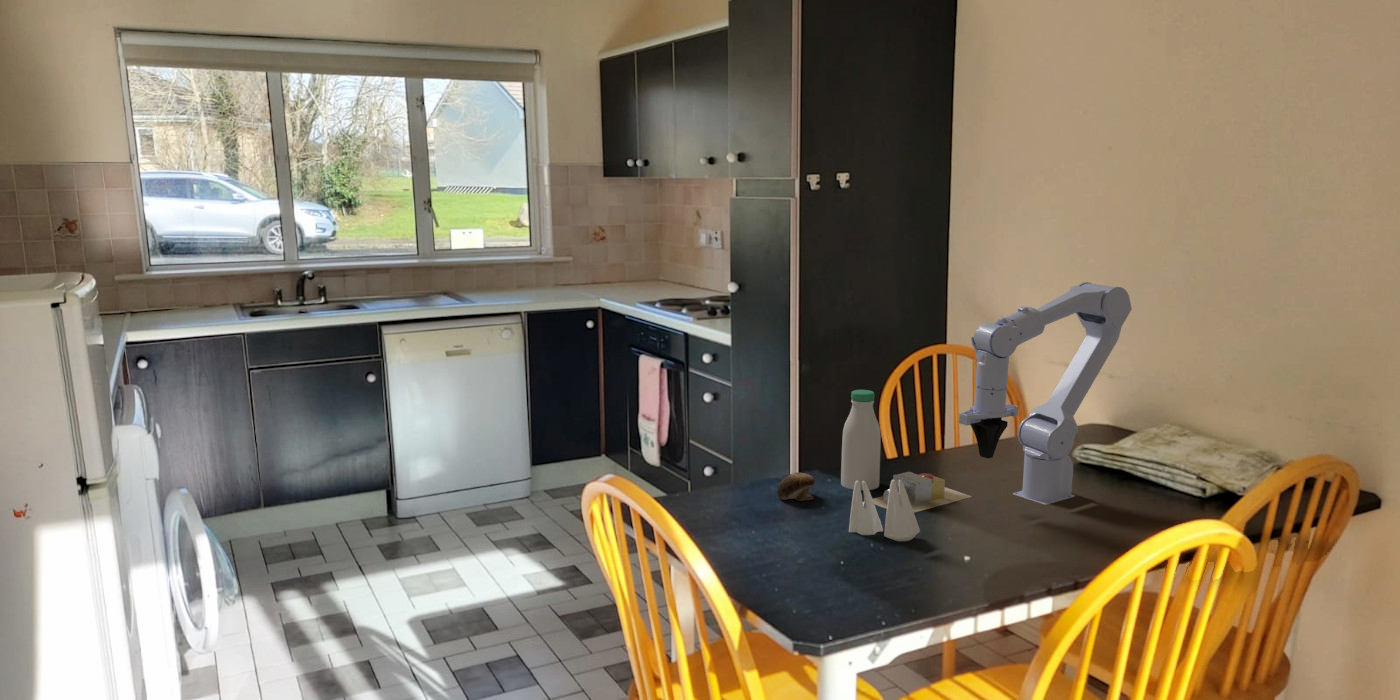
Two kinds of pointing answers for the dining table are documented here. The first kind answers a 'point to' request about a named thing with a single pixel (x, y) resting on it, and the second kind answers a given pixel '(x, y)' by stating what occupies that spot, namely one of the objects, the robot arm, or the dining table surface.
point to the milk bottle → (861, 443)
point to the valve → (936, 486)
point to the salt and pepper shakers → (897, 516)
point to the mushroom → (796, 487)
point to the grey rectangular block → (913, 488)
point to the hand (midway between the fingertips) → (986, 456)
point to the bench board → (948, 498)
